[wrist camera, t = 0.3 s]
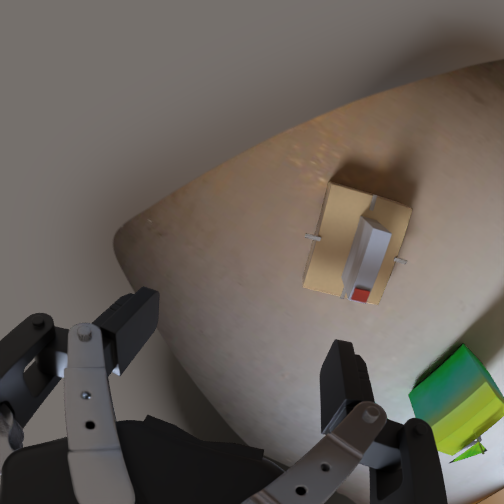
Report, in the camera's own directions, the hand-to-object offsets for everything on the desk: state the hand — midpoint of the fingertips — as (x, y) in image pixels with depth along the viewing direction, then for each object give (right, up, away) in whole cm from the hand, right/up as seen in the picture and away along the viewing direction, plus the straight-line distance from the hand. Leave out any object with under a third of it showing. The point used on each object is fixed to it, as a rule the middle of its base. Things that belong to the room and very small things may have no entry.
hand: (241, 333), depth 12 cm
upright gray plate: (+10, +4, +12) cm, 16 cm away
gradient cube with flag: (+29, -14, +18) cm, 37 cm away
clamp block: (+10, +5, +15) cm, 19 cm away
